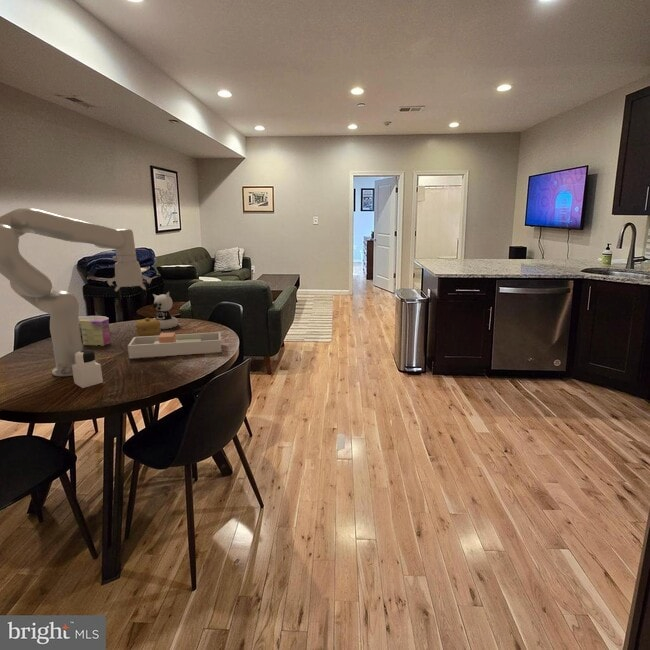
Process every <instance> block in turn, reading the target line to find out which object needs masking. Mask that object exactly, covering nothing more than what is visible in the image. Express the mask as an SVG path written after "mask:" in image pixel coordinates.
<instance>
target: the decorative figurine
mask: <svg viewBox="0 0 650 650" xmlns="http://www.w3.org/2000/svg"><path fill="white" fill-rule="evenodd" d="M152 296H153V298H154V301H153V304H152V306H153V308H154V309H155V310H157V312H156V315H155V317H154V318H152V319H157V320H158V321H159V322H160V328H161V330H169V328H170V329H173V327H174V328H175V327H177V326H178V325H179V320H178V319H177V318H176V317H175V316H172V315H171V313H170V310H171V309H172V308H173V299H172V297H171V296H170V291H168V292H166V294H164V293H163V294H159V295H156V294H154V293H152Z"/></svg>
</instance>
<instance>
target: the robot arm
mask: <svg viewBox="0 0 650 650" xmlns="http://www.w3.org/2000/svg"><path fill="white" fill-rule="evenodd" d="M25 234H34V235H38V236H44V237H47V238H48V237H49V238H52V239H57V240H61V241H65V242H71V243H72V242H73V243H81V244H90V245H94V246H95V247H97V248H100V249H106V250H107V249H110V250H115V256H112V260H113V261H116V262H115V263H114V276H113V277H112V278H111V279H108V280H107V281H106V282H107V284H108V285H109V287H110V288H111V289H112V290H114V292H115V295H116V299H118V301H119V302H120V301H121V300H122V292H121V290H120V288H128V287H140V288H141V294H142V299H143V300H145V299H146V298H147V296H148V293H147V288H149V286H150V285H151V282H152V280H153V279H152V278H151V277H149V276H146V275H144V274H142V269H141V265H140V262H139V261H138V260H137V253H136V252H137V250H136V246H135V245H136V244H135V239H134V238H135V237H134V231H133V230H132V229H130V228H116V229H114V228H111V227H107V226H104V225H100V224H96V223H91V222H86V221H83V220H79V219H75V218H71V217H67V216H63V215H59V214H55V213H54V212H53V213H52V212H48V211H45V210H43V209H42V210H41V209H37V208H32V207H31V208H30V207H27V208H22V207H21V208H16V209H13V210H11V211H10V212H7V213H5V214H3V215H1V216H0V274H1V276H3V277H4V278H6V279H7V281H9V286H10V288H11V289H12V291H13V292H14V293H16V294H17V295H18V296H20V297H21V298H22V299H23V300H25V301H26V302H28V303H29V304H31V305H32V306H34V307H35V308H36V309H38V310H40V311H41V312H44V313H47V314H49V315H50V316H49V318H50V319H49V332H50V336H51V342H52V348H53V356H54V360H55V361H54V362H55V363H54V364H55V367H54V368H53V369H52V370H51V374H52V375H53V376H55V377H73V370H72V365H74V364H76V359H75V354H76V353H77V352H79V351H83V350H84V349H83V340H82V337H81V334H80V328H79V317H80V316H79V315H80V314H79V312H80V305H79V304H80V303H79V299H77V297H76V295H74V294H73V293H71V292H69V291H67V290H62V289H57V288H54V287H53V283H52V281H51V279H50V278H49V277H48V276H47V275H46V274H45V273H43V272H42V271H40V270H39V269H38V268H36V267H35V266H34V265H32V263H30V262H29V261H28V260H27V259H26V258H25V257H23V256H22V254H21V252H20V249H19V248H20V247H19V244H20V243H19V242H20V237H22V236H24V235H25ZM144 280H145V281H147V282H146V283H145V284H144ZM114 281H115V284H113V282H114Z"/></svg>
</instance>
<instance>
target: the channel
mask: <svg viewBox="0 0 650 650" xmlns="http://www.w3.org/2000/svg"><path fill="white" fill-rule="evenodd" d="M159 336H160V335H158V336H143V337H139V336H134V337H132V339H131V341H130V342H129V343H128V344H127V353H128V359H129V360H140V358H143V359H155V357H158V358H167V357H166V356H173V357H178V356H177V355H187V356H191V355H190V354H202V355H206V354H205V353H217V354H221V353H220V352H222V353H223V350H222V348H221V347H222V332H221V331H218V332H217V331H215V332H201V333H199V332H198V333H182V334H181V333H180V334H175V339H176V341H175V342H172V343H159Z"/></svg>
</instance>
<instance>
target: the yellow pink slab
mask: <svg viewBox="0 0 650 650" xmlns="http://www.w3.org/2000/svg"><path fill="white" fill-rule="evenodd" d="M87 318H91V319H108V320H109V319H110V318H109V317H107V316H102V315H86V316H79V328H80V334H81V336H82V330H81V322H80V321H81V320H84V319H87Z"/></svg>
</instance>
